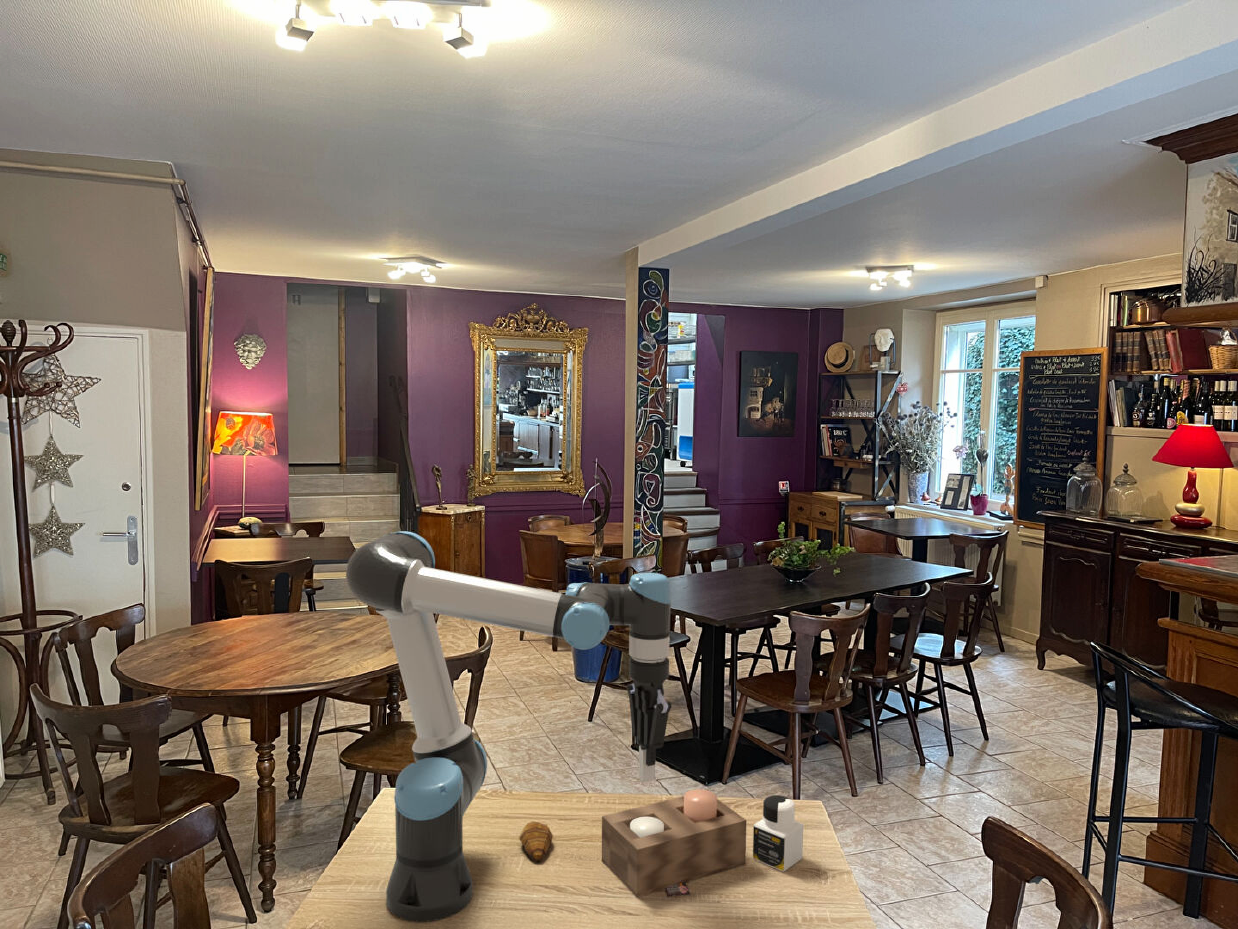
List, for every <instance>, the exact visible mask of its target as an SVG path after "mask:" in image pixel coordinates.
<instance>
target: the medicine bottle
mask: <svg viewBox="0 0 1238 929" xmlns="http://www.w3.org/2000/svg"><path fill="white" fill-rule="evenodd" d="M795 806H796V804H795V802H794V800H792V799H791V798H789V797H787V796H784V795H779V794H777V795H776V794H775V795H769V796H767V797H766V798H765V799H764V800H763V808H762V819H760V820H759V821H757V822H755V823H754V824H753V830H752V831H753V834H752V835H753V836H752V839H753V840H752V859H753V860H755V861H756V862H759V863H761V864H764V865H766V866H769V867H771V868H773V869H775V870H777V871H780V872H782V873H784V872H785V871H787V870H788V869H790V868H791V867H793V866H794V865H795V864H797V863H798V862H799V861H800V860H802V859H803V858H804V857H803V856H804V849H803V848H804V823H802V822H799V821H797V820H795V815H796V814H795V811H796V807H795Z"/></svg>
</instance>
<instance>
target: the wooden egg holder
mask: <svg viewBox="0 0 1238 929" xmlns="http://www.w3.org/2000/svg"><path fill="white" fill-rule="evenodd" d="M639 817H653V818H657V819H659V820H661V821H662V822H663V824H664V831H663V832H659V833H656V834H652V835H648V836H644V837H639V836H638V835H637V834H635V833H634V832H633V831H632V830H631V829H630V823H631V821H632V820H634V819H636V818H639ZM746 850H747V819H746V818H745V817H743V816H742V815H740V814H739V813H738V812H736V811H734V810H733V809H732V808H731V807H729V806H727V804H725V803H723V802H722V801H721V800H720V799H718V798H717V817H716V818H713V819H709V820H705V821H701V822H697V823H694V822H693V821H692V820H690V819H689V818H688V817H687V816H685V815H684V795H683V796H678V797H675V798H671V799H667V800H662V801H658V802H654V803H650V804H646V805H642V806H638V807H634V808H629V809H626V810H622V811H617V812H614V813H609V814H606V815H602V816H601V862H602V863H603V864H604V865H605V866H606V867H607V869H609V870H610V871H611V872H612V873H613V875H615V876H616V878H618V880H619V881H620V882H621V883H622V884H623V885H624V886H625V887H626V888H627V889H628V890H629V891H630V892H631V893H632V894H633V895H634V897H636V898H640V897H643V896H646V895H650V894H653V893H656V892H660V891H665V889H666V888H667V887H669V886H673V885H676V884H680V883H683V882H684V883H686V884H687V883H690V882H695V881H696V880H700V879H704V878H707V877H710V876H714V875H717V874H721V873H723V872H724V873H725V872H728V871H731V870H733V869H737V868H740V867H744V866H746V865H747V864H746V862H747V860H746V858H747V857H746V856H747V855H746V854H747V852H746Z"/></svg>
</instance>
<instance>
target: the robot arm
mask: <svg viewBox="0 0 1238 929" xmlns="http://www.w3.org/2000/svg"><path fill="white" fill-rule="evenodd" d="M435 564H436V558H435V553H434V550H433V548H432V546H431V545H430V544H429V542H428V541H427V540H426V539H425V538H424V537H422V536H421V535H420V534H419V535H418V534H417V533H415V532H411V531H405V530H404V531H403V530H402V531H395V532H390V533H386V534H384V535H381V537H378V538H377V539H374V540H372V541H370V542H367V543H365V544H362V545H361V546H360V547H359V548H357V549H356V550H355V552H353V554H352V555H351V556H350V558H349V560H348V562H347V565H346V569H345V579H346V584H347V586H348V589H349V591H350V593H352V595H353V596H354V597H355V599H357V600H358V601H359V602H361V603H363V604H364V605H367V606H370V607H372V608H374V609H375V612H376V613H378V614H379V615H381V616H383V617H385V619H386V622H387V626H388V629H389V633H390V638H391V641H392V644H393V648H394V652H395V656H396V660H397V664H398V666H399V667H398V668H399V672H400V675H401V679H402V683H403V685H404V691H405V693H406V698H407V701H408V705H409V710H410V712H411V716H412V719H413V723H414V728H415V732H416V739H415V741H414V742H413V744H412V746H411V750H412V752H413V753H412V754H413V757H414V761H415V762H411V763H410V764H408V765H407V766H405V768H403V769H402V770H401V772H400V773H399V774H398V776H397V779H396V782H395V789H394V798H393V799H394V804H395V805H394V806H395V809H394V810H395V811H394V812H395V814H394V816H395V854H396V857H395V860H394V864H393V868H392V871H391V874H390V877H389V880H388V883H387V886H386V890H385V892H386V896H385V897H386V898H385V899H386V907H387V909H388V911H389V912H390V913H391V914H393V915H394V916H396V917H398V918H399V919H402V920H405V921H409V922H411V921H412V922H422V923H423V922H432V921H433V922H434V921H439V920H441V919H447V918H449V917H451V916H453V915H455V914H458V913H459V912H460V911H462V910H463V909H465V908H466V906H467V905H469V903H470V902H471V900H472V898H473V894H474V892H473V891H474V890H473V886H474V885H473V884H474V882H473V878H472V875H471V872H470V869H469V866H468V863H467V860H466V858H465V855H464V851H463V848H464V847H463V842H464V841H463V840H464V839H463V833H464V832H463V826H464V825H463V820H464V815H465V814H466V811H467V810H468V808H469V807H470V805H471V804H472V801H473V800H474V799H475V797H476V795H477V794H478V792H479V791H480V789H481V788H482V786H483V785H484V784H483V783H484V781H485V778H486V774H487V770H488V757H487V753H486V751H485V749H484V747H483V745H482V744H481V742H479V741H478V740H476V739H475V738H474V735H473V734H474V733H473V730H472V728H471V727H470V726H468V724H465V723H463V722H462V719H461V716H460V713H459V709H458V704H457V700H456V698H455V693H454V690H453V686H452V682H451V678H450V674H449V670H448V667H447V663H446V658H445V655H444V651H443V650H444V649H443V646H442V644H441V640H440V635H439V632H438V628H437V624H436V621H435V615H434V614H437V615H442V616H446V617H447V616H448V617H451V618H456V619H460V620H462V619H463V620H467V621H472V622H475V623H482V624H486V625H487V624H488V625H491V626H495V627H496V626H497V627H503V628H507V629H513V630H517V631H523V632H527V633H533V634H537V635H538V634H539V635H542V636H543V635H544V636H547V637H553V638H559V639H562V640H564V641H566V643H567V644H569V645H570V647H573V648H574V649H577V650H582V651H583V650H584V651H585V650H591V649H593V648H595V647H596V646H598V645H599V644H600V643H601V642H602V641H603V640H604V639H605V637H606V636H607V633H608V632H609V630H610V626H629V635H628V636H629V638H628V641H629V642H628V643H629V644H628V648H629V649H628V655H629V656H630V657H629V659H628V676H629V678H630V679H631V680H633V683H631V684H627V685H626V690H627V695H628V700H629V702H628V703H629V710H630V713H629V714H630V722H631V732H632V737H633V739H634V738H636V742H637V744H638V780H639V781H640V782H641V783H645V782H650V781H655V780H656V760H657V758H656V757H657V755H656V754H657V749H659V748H661V749H662V748H663V747H664V742H665V737H666V731H667V725H668V724H667V723H668V718H669V714H670V712H671V709H672V707H673V705H672V703H671V701H668V702H667V701H666V700H665V697H664V696H665V690H664V685H663V684H664V682H665V681H666V680H667V679H669V676H670V659H669V658H668V657H669V656H670V641H671V638H670V635H671V634H670V632H671V631H670V630H671V609H672V608H671V607H672V599H671V598H672V597H671V596H672V595H671V581H670V579H669V578H668V577H667V576H666V575H664V574H662V573H658V572H640V573H635V574H632V576H631V577H630V580H629V583H627V584H615V583H614V584H613V583H596V582H595V583H593V582H588V581H587V582H586V581H585V582H579V583H577V582H574V583H570V584H568V585H567V587H566V591H565V594H563V593H560V592H555V591H550V590H545V589H540V588H536V587H529V586H524V585H521V584H520V585H519V584H516V583H515V584H514V583H510V582H505V581H499V580H494V579H490V578H484V577H479V576H474V575H468V574H464V573H460V572H454V571H448V570H443V569H437V568H435V566H436V565H435Z"/></svg>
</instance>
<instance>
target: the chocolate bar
mask: <svg viewBox="0 0 1238 929" xmlns="http://www.w3.org/2000/svg"><path fill="white" fill-rule="evenodd" d="M664 891H665V893H666V898H671V897H678V896H689V895H691V894H692V892H690V890H689V886H688V885H687V883H684V882H683V883H680V884H676V885H673V886H669V887H667V888H666V889H664Z"/></svg>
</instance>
